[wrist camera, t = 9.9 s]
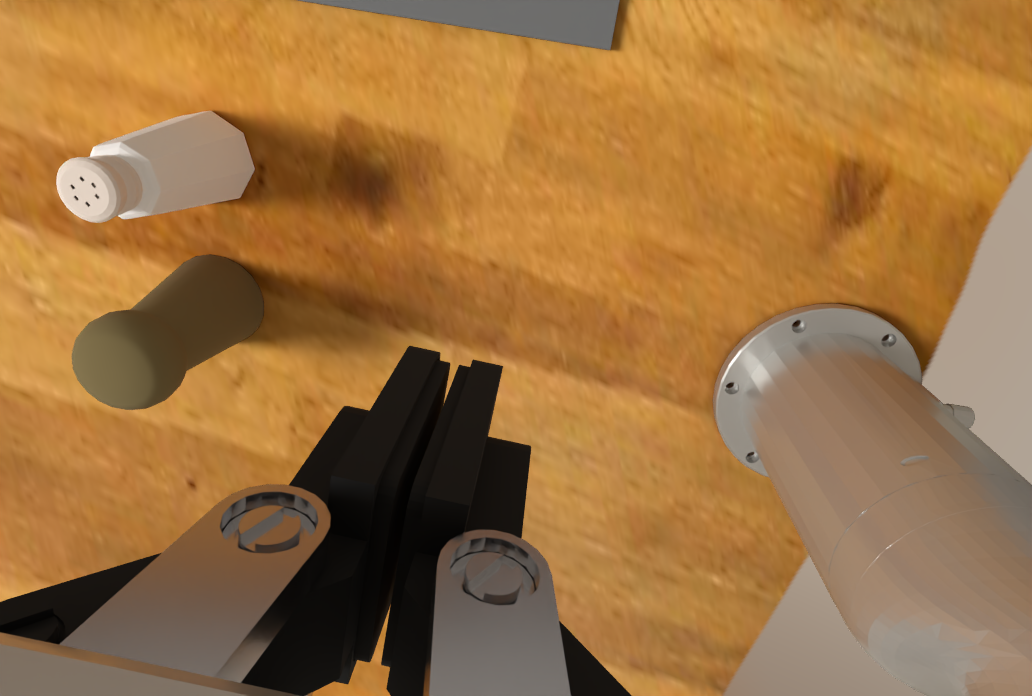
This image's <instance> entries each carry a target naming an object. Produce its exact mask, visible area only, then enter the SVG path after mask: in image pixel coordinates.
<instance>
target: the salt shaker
mask: <svg viewBox="0 0 1032 696" xmlns="http://www.w3.org/2000/svg"><path fill="white" fill-rule="evenodd" d="M254 170H255V168H254V165H253V162H252V158H251V155H250V152H249V149H248V146H247V143H246V140H245V137H244V133H243V132H241V131H240V130H238V129H237V128H236V127H234V126H233V125H231V124H230V123H228V122H227V121H225V120H224V119H222V118H221V117H220V116H218V115H217V114H215V113H214V112H212V111H205V112H200V113H194V114H189V115H184V116H178V117H175V118H172V119H169V120H166V121H164V122H161V123H158V124H155V125H152V126H149V127H146V128H144V129H141V130H138V131H135V132H132V133H129V134H127V135H124V136H121V137H118V138H115V139H112V140H110V141H107V142H104V143H101V144H99V145H97V146H95V147H93V150H92V152H91V155H90V157H78V158H72V159H70V160H68V161H66V162H64V163H63V165H62V166H61V167H60V168H59V171H58V174H57V182H56V184H57V189H58V193H59V195H60V198H61V200H62V201H63V203H64V204H65V205H66V207H67V208H68V209H69V210H70V211H71V212H73V213H74V214H75V215H77V216H78V217H80V218H81V219H84V220H86V221H89V222H96V223H100V222H106V221H108V220H110V219H112V218H114V217H115V216H119V217H120V218H122V219H132V218H138V217H144V216H150V215H156V214H162V213H167V212H172V211H177V210H182V209H187V208H192V207H197V206H202V205H207V204H212V203H218V202H223V201H228V200H233V199H238V198H240V197H241V195H242V193H243V192H244V190H245V188H246V186H247V184H248V182H249V180H250V178H251V176H252V174H253V172H254Z"/></svg>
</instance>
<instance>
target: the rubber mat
mask: <svg viewBox="0 0 1032 696" xmlns="http://www.w3.org/2000/svg"><path fill="white" fill-rule="evenodd" d="M298 1H305V2H311V3H317V4H323V5H330V6H336V7H342V8H349V9H355V10H361V11H367V12H374V13H380V14H386V15H392V16H399V17H405V18H411V19H417V20H424V21H430V22H436V23H442V24H449V25H455V26H461V27H467V28H474V29H480V30H486V31H493V32H499V33H505V34H511V35H518V36H524V37H530V38H536V39H543V40H549V41H555V42H561V43H568V44H574V45H580V46H586V47H593V48H599V49H605V50H610V48H611V43H612V38H613V32H614V27H615V22H616V16H617V11H618V6H619V0H298Z"/></svg>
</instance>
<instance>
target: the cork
mask: <svg viewBox="0 0 1032 696" xmlns="http://www.w3.org/2000/svg"><path fill="white" fill-rule="evenodd" d="M263 316H264V301H263V298H262V294H261V291H260V288H259V286H258V285H257V283H256V282H255V280H254V279H253V277H252V276H251V275H250V274H249V273H248V272H247V271H246V270H245V269H244V268H243V267H241V266H240V265H239V264H237V263H235V262H233V261H231V260H229V259H227V258H225V257H220V256H215V255H202V256H196V257H194V258H192V259H190V260H188V261H186V262H184V263H183V264H182V265H181V266H180V267H178V268H177V269H176V270H175V271H174V272H173V273H172V274H170V275H169V276H168V277H167V278H166V279H165V280H164V281H163V282H161V283H160V284H159V285H158V286H157V287H156V288H155V289H153V290H152V291H151V292H150V293H149V294H148V295H147V296H146V297H144V298H143V299H142V300H141V301H140V302H139V303H138V304H136V305H135V306H134V307H133V308H132V309H131V310H123V311H115V312H109V313H107V314H105V315H103V316H101V317H99V318H97V319H96V320H94V321H92V322H90V323H89V324H88V325H87V326H86V327H85V328H84V329H83V331H82V332H81V333H80V334H79V335H78V337H77V338H76V340H75V344H74V348H73V352H72V364H73V370H74V372H75V374H76V376H77V379H78V381H79V382H80V383H81V385H82V386H83V387H84V388H85V390H86V391H87V392H88V393H89V394H91V395H92V396H93V397H95V398H96V399H97V400H98V401H100V402H102V403H105V404H107V405H109V406H111V407H115V408H120V409H125V410H135V409H146V408H149V407H151V406H153V405H156V404H158V403H160V402H162V401H164V400H166V399H167V398H168V397H169V396H171V395H172V394H173V393H174V391H175V390H176V389H177V388H178V387H179V386H180V385H181V383H182V381H183V379H184V376H185V373H186V371H187V370H189V369H191V368H193V367H194V366H196V365H198V364H200V363H202V362H204V361H205V360H207V359H209V358H211V357H213V356H215V355H216V354H218V353H220V352H222V351H224V350H225V349H227V348H229V347H231V346H233V345H235V344H236V343H238V342H240V341H242V340H244V339H246V338H247V337H249V336H251V335H252V334H253V333H254V332H255V331H256V329H257V328H258V327H259V325H260V323H261V320H262V318H263Z"/></svg>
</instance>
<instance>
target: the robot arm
mask: <svg viewBox="0 0 1032 696" xmlns="http://www.w3.org/2000/svg"><path fill="white" fill-rule="evenodd" d="M797 320H798V322H797V323H796V324H793V323H794V322H795V321H797ZM502 368H503V366H500V365H495V364H491V363H486V362H482V361H477V360H473V361H472V364H471V366H470V367H467V366H462V365H459V367H458V369H457V372H456V374H455V377H454V380H453V382H452V385H451V387H450V390H449V392H448V395H447V398H446V400H445V403H444V398H445V393H446V387H447V381H448V376H449V370H450V363H448V362H444V361H440V352H436V351H431V350H427V349H422V348H418V347H413V346H409V347H408V348H407V350H406V352H405V353H404V355H403V356H402V358H401V360H400V361H399V363H398V365H397V366H396V368H395V370H394V371H393V373H392V375H391V376H390V378H389V380H388V381H387V383H386V385H385V386H384V388H383V390H382V391H381V393H380V395H379V396H378V398H377V400H376V401H375V403H374V405H373V406H372V408H371V410H370V411H368V410H364V409H359V408H355V407H350V406H344V407H343V408H342V409H341V411H340V412H339V413H338V415H337V416H336V418H335V419H334V421H333V422H332V424H331V425H330V426H329V428H328V429H327V431H326V432H325V434H324V435H323V437H322V438H321V440H320V441H319V442H318V444H317V445H316V447H315V448H314V450H313V451H312V453H311V454H310V455H309V457H308V458H307V460H306V461H305V463H304V464H303V466H302V467H301V468H300V470H299V471H298V473H297V474H296V476H295V477H294V479H293V480H292V481H291V483H290V484H289V485H273V484H266V485H260V486H255V487H249V488H246V489H243V490H241V491H238V492H235V493H233V494H231V495H229V496H228V497H226V498H225V499H224V500H222V501H221V502H219V503H218V504H217V505H215V506H214V507H213V508H212V509H211V510H210V511H209V512H208V513H206V514H205V515H204V516H203V517H202V518H201V519H200V520H199V521H197V522H196V523H195V524H194V525H193V526H192V527H191V528H190V529H188V530H187V531H186V532H185V533H184V534H183V535H182V536H181V537H179V538H178V539H177V540H176V541H175V542H174V543H173V544H172V545H170V546H169V547H168V548H167V549H166V550H165V551H164V552H163V553H160V554H156V555H153V556H150V557H146V558H143V559H140V560H136V561H133V562H130V563H127V564H123V565H120V566H117V567H113V568H110V569H107V570H103V571H100V572H97V573H93V574H90V575H87V576H83V577H80V578H77V579H74V580H70V581H67V582H64V583H60V584H57V585H54V586H50V587H47V588H44V589H40V590H37V591H34V592H30V593H27V594H24V595H21V596H17V597H14V598H11V599H7V600H5V601H2V602H0V696H312V694H313V692H314V691H316V690H318V689H320V688H322V687H324V686H326V685H328V684H330V683H332V682H334V681H335V682H339V683H344V684H348V683H349V680H350V678H351V675H352V672H353V670H354V667H355V664H356V661H357V660H360V661H365V662H370V661H371V659H372V656H373V654H374V651H375V648H376V645H377V642H378V639H379V636H380V633H381V630H382V627H383V624H384V622H385V619H386V616H387V613H388V610H389V607H390V604H391V607H390V613H389V619H388V625H387V631H386V637H385V643H384V649H383V655H382V662H381V665H384V666H388V667H390V672H389V677H388V683H387V690H388V692H389V693H390V695H391V696H631V695H630V694H629V693H628V692H627V691H626V689H625V688H624V687H623V686H622V685H621V684H620V683H619V682H618V681H617V680H616V679H615V678H614V677H613V676H612V675H611V674H610V673H609V672H608V671H607V670H606V669H605V668H604V667H603V666H602V665H601V664H600V663H599V661H598V660H597V659H596V658H595V657H594V656H593V655H592V654H591V653H590V652H589V651H588V650H587V649H586V648H585V647H584V646H583V645H582V644H581V643H580V642H579V641H578V640H577V639H576V638H575V637H574V636H573V635H572V633H571V632H570V631H569V630H568V629H567V628H566V627H565V626H564V625H563V624H562V623H561V622H560V621H559V618H558V612H557V605H556V599H555V593H554V586H553V580H552V575H551V572H550V569H549V566H548V563H547V561H546V560H545V559H544V558H543V556H542V555H541V554H540V552H539V551H538V550H537V549H536V548H534V547H533V546H532V545H530V544H529V543H528V542H526V541H525V540H523V539H521V537H522V528H523V518H524V509H525V500H526V491H527V481H528V472H529V463H530V454H531V446H529V445H524V444H520V443H515V442H511V441H506V440H501V439H497V438H492V437H488V433H489V429H490V424H491V419H492V415H493V410H494V406H495V401H496V396H497V392H498V387H499V382H500V378H501V373H502ZM730 382H732V383H731V384H730V385H727V384H729V383H730ZM443 404H444V405H443ZM713 408H714V417H715V421H716V424H717V427H718V430H719V432H720V434H721V436H722V438H723V440H724V443H725V445H726V446H727V447H728V448H729V450H730V451H731V452H732V454H733V455H734V456H735V457H736V458H737V459H738V460H739V461H740V462H741V463H742V464H744V465H745V466H746V467H748V468H750V469H752V470H753V471H755V472H757V473H759V474H761V475H763V476H766V477H769V478H770V479H771V481H772V483H773V485H774V487H775V489H776V491H777V493H778V495H779V497H780V499H781V501H782V503H783V505H784V507H785V508H786V510H787V512H788V514H789V516H790V518H791V520H792V522H793V524H794V526H795V528H796V530H797V532H798V534H799V536H800V538H801V539H802V541H803V543H804V545H805V547H806V549H807V551H808V553H809V555H810V557H811V559H812V561H813V562H814V565H815V567H816V569H817V570H818V572H819V574H820V576H821V578H822V580H823V582H824V584H825V586H826V588H827V590H828V592H829V593H830V596H831V598H832V599H833V602H834V603H835V605H836V607H837V608H838V610H839V612H840V614H841V616H842V618H843V620H844V622H845V624H846V625H847V627H848V629H849V630H850V632H851V633H852V635H853V636H854V638H855V640H856V641H857V642H858V644H859V645H860V646H861V647H862V648H863V650H864V651H865V652H866V653H867V654H868V655H869V656H870V657H871V658H872V659H873V660H874V661H875V662H876V663H878V664H879V665H880V666H881V667H882V668H883V669H884V670H885V671H887V672H888V673H889V674H890V675H892V676H893V677H895V678H896V679H898V680H899V681H901V682H903V683H905V684H906V685H908V686H909V687H911V688H913V689H914V690H916V691H918V692H920V693H922V694H924V695H926V696H1032V485H1031V484H1030V483H1029V482H1028V481H1027V480H1025V478H1023V477H1022V476H1021V475H1020V474H1019V473H1018V472H1016V471H1015V470H1014V469H1013V468H1012V467H1011V466H1010V465H1009V464H1007V463H1006V462H1005V461H1004V460H1003V459H1002V458H1001V457H1000V456H998V455H997V454H996V453H995V452H994V451H993V450H992V449H991V448H990V447H988V446H987V445H986V444H985V443H984V442H983V441H982V440H980V439H979V438H978V437H977V436H976V435H975V434H974V433H972V432H971V431H970V430H969V429H968V428H970V427H971V426H972V425H973V423H974V419H975V415H974V411H973V410H972V409H971V408H969V407H965V406H959V405H953V404H943V403H942V402H941V401H940V400H938V399H937V398H936V397H935V396H934V395H933V394H932V393H930V392H929V391H928V390H927V389H926V388H925V387H924V386H922V374H921V368H920V362H919V360H918V358H917V356H916V353H915V351H914V349H913V347H912V345H911V344H910V343H909V342H908V340H907V339H906V338H905V336H904V335H903V334H902V333H901V332H900V331H899V330H897V329H896V328H895V327H894V326H893V325H892V324H890V323H889V322H887V321H886V320H884V319H883V318H881V317H879V316H878V315H876V314H875V313H872V312H870V311H867V310H864V309H861V308H859V307H855V306H849V305H842V304H815V305H810V306H805V307H799V308H795V309H793V310H790V311H787V312H784V313H782V314H779V315H776V316H775V317H773V318H771V319H769V320H768V321H766V322H764V323H762V324H761V325H759V326H758V327H756V328H755V329H754V330H753V331H751V332H750V333H749V334H748V335H746V336H745V337H744V338H743V339H742V340H741V341H740V342H739V343H738V345H737V346H736V347H735V348H734V349H733V350H732V351H731V353H730V354H729V356H728V357H727V359H726V361H725V362H724V364H723V366H722V367H721V370H720V373H719V375H718V378H717V381H716V383H715V389H714V396H713Z"/></svg>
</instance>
